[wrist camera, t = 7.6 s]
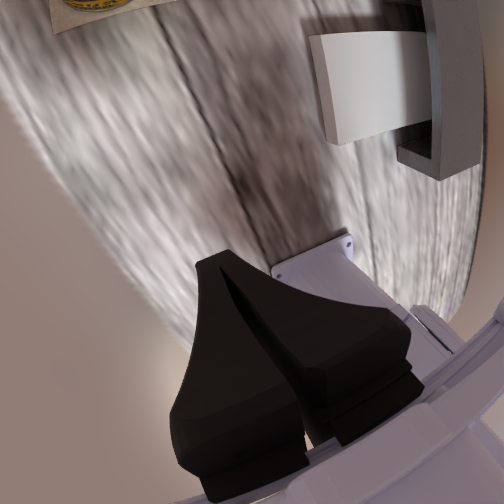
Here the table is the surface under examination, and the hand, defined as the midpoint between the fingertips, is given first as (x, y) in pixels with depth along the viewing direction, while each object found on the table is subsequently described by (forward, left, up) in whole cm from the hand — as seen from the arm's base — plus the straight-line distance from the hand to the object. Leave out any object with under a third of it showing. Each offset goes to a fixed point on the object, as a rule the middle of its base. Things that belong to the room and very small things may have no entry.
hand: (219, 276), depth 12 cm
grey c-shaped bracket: (+4, -23, -10) cm, 25 cm away
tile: (+4, -18, -10) cm, 21 cm away
